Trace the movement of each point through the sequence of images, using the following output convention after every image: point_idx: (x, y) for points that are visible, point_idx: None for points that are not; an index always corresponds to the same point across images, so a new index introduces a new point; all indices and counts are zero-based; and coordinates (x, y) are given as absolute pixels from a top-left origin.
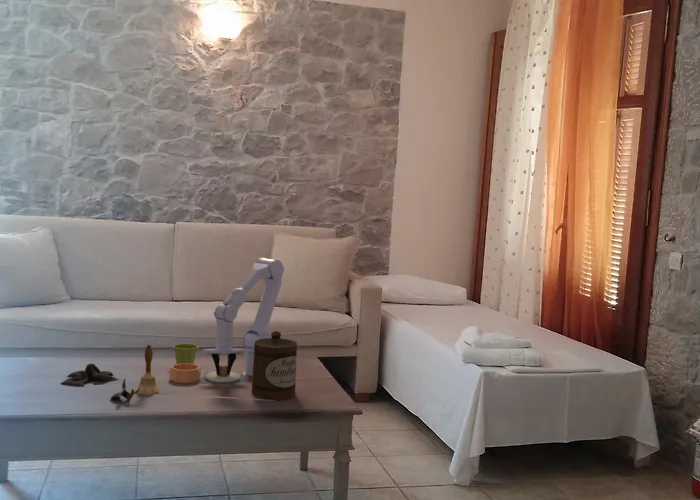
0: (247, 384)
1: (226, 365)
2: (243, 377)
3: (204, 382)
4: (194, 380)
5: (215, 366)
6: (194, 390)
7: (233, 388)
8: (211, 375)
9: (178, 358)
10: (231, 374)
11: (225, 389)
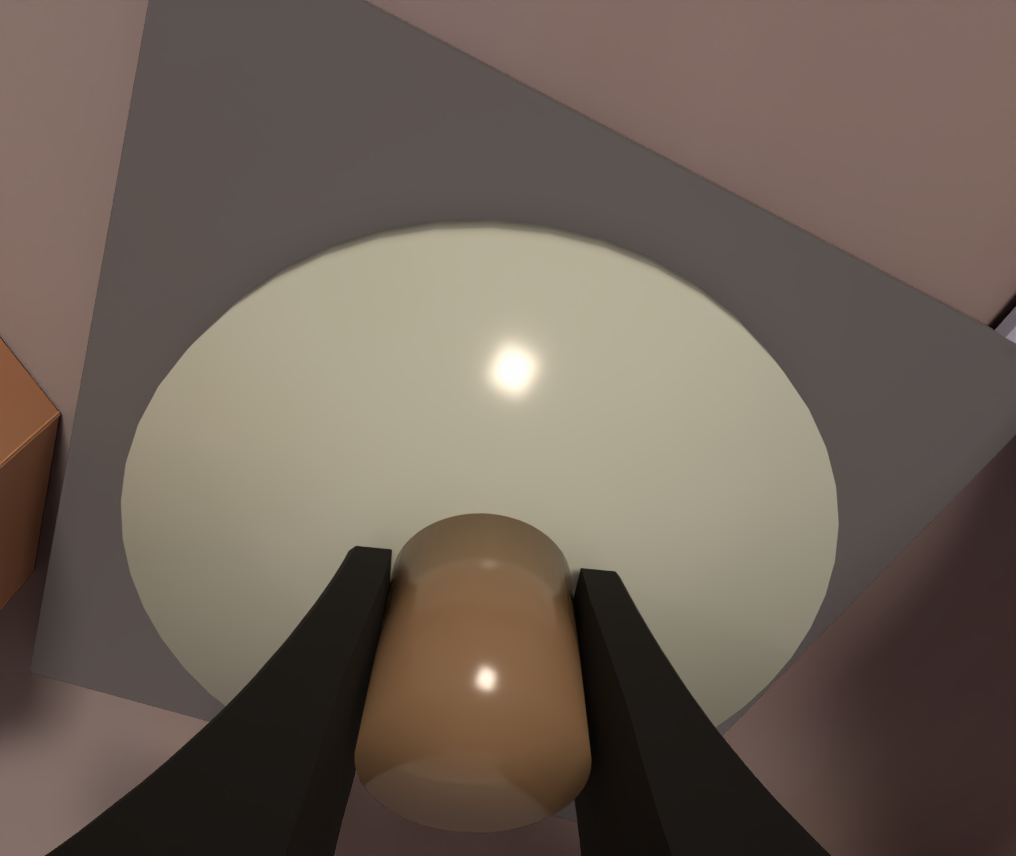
0: (770, 745)
1: (573, 733)
2: (884, 539)
3: (138, 664)
4: None
5: (276, 666)
6: (31, 820)
7: (522, 832)
8: (247, 535)
9: None
10: (676, 548)
11: (416, 844)
